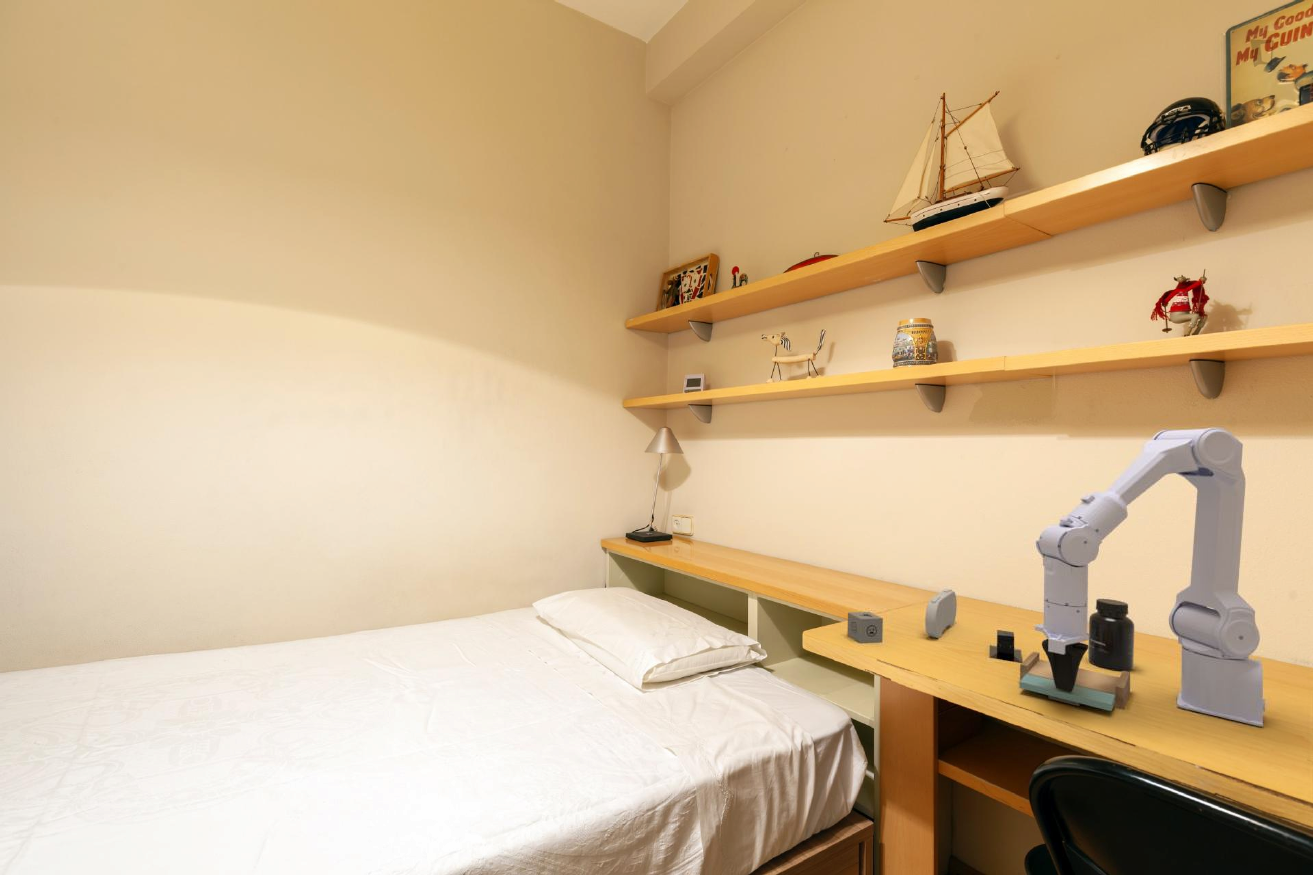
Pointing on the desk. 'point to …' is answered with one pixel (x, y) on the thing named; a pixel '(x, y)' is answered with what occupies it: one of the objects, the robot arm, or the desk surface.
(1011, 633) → the black upright stand
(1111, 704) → the panel
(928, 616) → the game controller
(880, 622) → the dice cube
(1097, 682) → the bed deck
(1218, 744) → the desk surface
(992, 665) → the desk surface
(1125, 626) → the supplement bottle
